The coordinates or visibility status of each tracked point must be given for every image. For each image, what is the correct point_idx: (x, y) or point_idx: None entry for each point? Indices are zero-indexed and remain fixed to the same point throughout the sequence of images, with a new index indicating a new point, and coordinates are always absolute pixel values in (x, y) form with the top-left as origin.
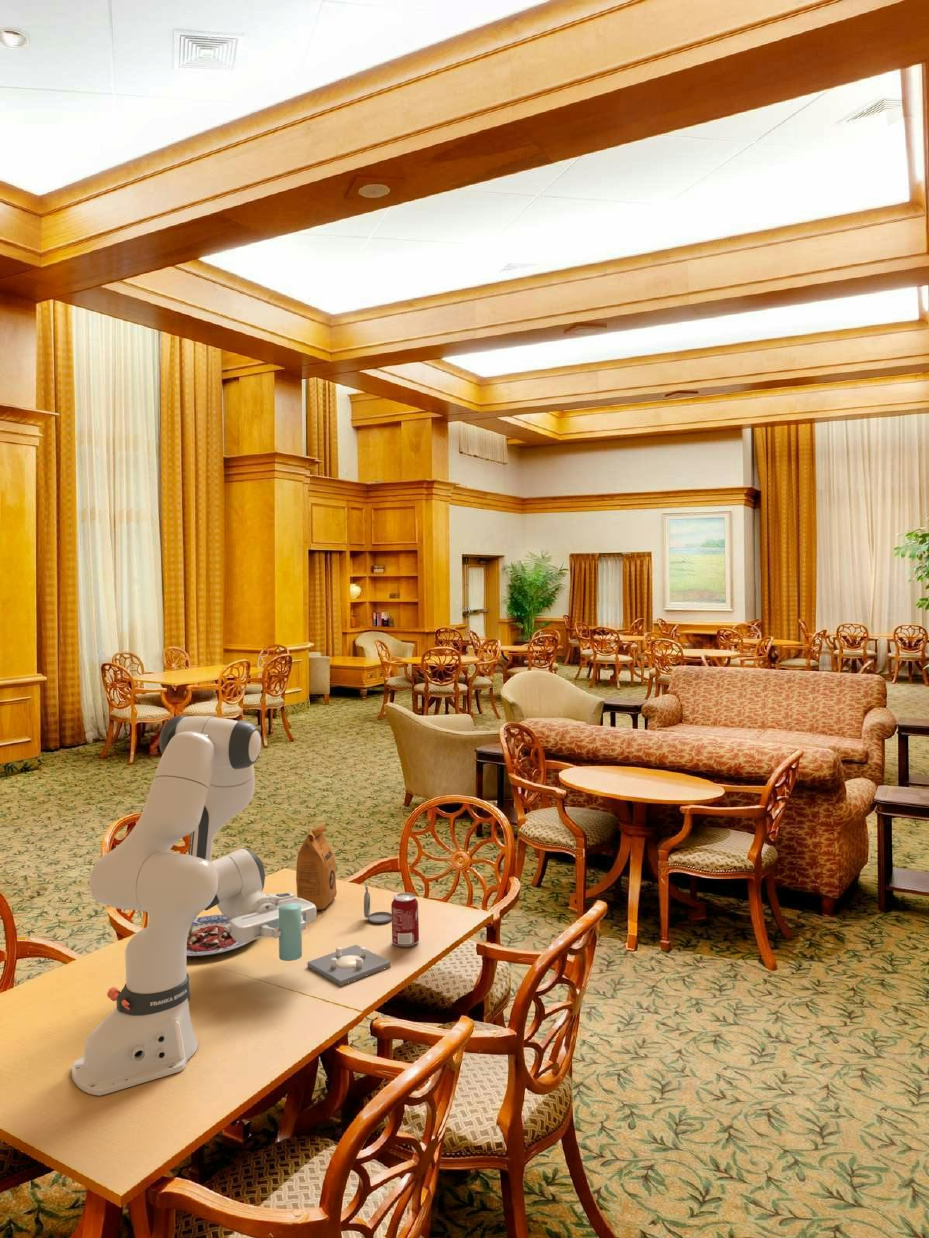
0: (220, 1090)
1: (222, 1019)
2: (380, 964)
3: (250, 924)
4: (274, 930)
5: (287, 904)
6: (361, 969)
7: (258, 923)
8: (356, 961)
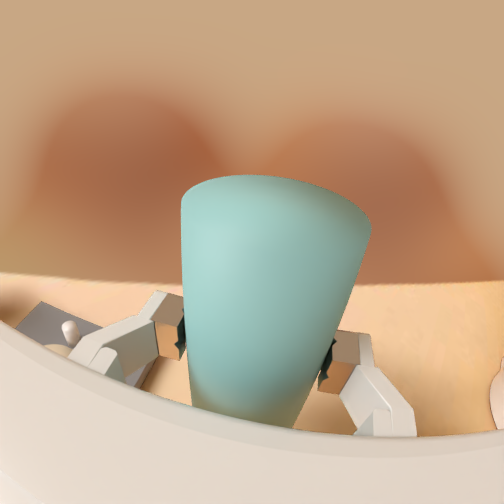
0: (467, 306)
1: None
2: (54, 312)
3: (493, 444)
4: (370, 342)
5: (231, 240)
6: (84, 334)
7: (445, 437)
8: (76, 332)
